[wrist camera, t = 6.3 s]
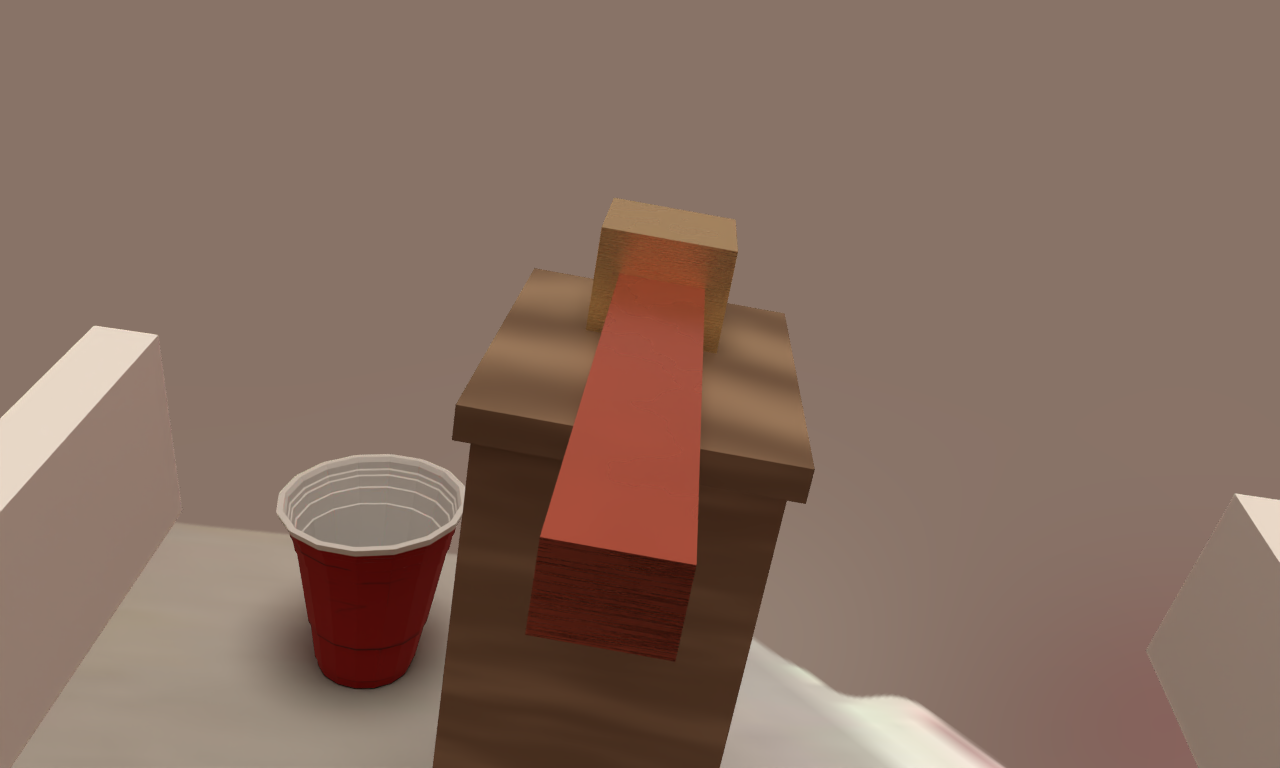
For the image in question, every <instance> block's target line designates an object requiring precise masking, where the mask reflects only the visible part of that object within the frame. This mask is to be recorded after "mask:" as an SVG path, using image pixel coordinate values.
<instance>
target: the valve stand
mask: <svg viewBox="0 0 1280 768" xmlns="http://www.w3.org/2000/svg"><path fill="white" fill-rule="evenodd" d="M593 280H594V279H590V278H585V277H580V276H574V275H569V274H563V273H558V272H551V271H547V270H541V269H536V268H535V269H534V270H533V272H532V274H531V276H530V277H529V279H528V281H527V282H526V284H525V286H524V288H523V289H522V291H521V293H520V294H519V296H518V298H517V300H516V301H515V303H514V305H513V307H512V308H511V310H510V312H509V314H508V315H507V317H506V319H505V320H504V322H503V324H502V326H501V327H500V329H499V331H498V333H497V334H496V336H495V338H494V339H493V341H492V343H491V345H490V346H489V348H488V350H487V352H486V353H485V355H484V357H483V358H482V360H481V362H480V364H479V366H478V367H477V369H476V371H475V372H474V374H473V376H472V378H471V380H470V381H469V383H468V384H467V386H466V388H465V390H464V391H463V393H462V395H461V397H460V398H459V400H458V402H457V404H456V408H455V417H454V426H453V436H452V440H454V441H460V442H466V443H471V445H470V453H469V462H468V470H467V480H466V487H465V496H464V504H463V513H462V522H461V530H460V539H459V548H458V556H457V564H456V573H455V581H454V590H453V598H452V607H451V616H450V624H449V633H448V641H447V650H446V658H445V667H444V675H443V684H442V692H441V701H440V709H439V718H438V727H437V735H436V744H435V752H434V761H433V768H720V764H721V760H722V756H723V752H724V748H725V744H726V740H727V736H728V732H729V728H730V724H731V720H732V716H733V713H734V709H735V705H736V701H737V697H738V693H739V689H740V685H741V681H742V677H743V673H744V669H745V665H746V661H747V657H748V653H749V649H750V645H751V641H752V637H753V633H754V629H755V625H756V621H757V617H758V613H759V609H760V605H761V601H762V597H763V593H764V589H765V585H766V581H767V577H768V573H769V569H770V565H771V561H772V557H773V553H774V549H775V545H776V541H777V537H778V534H779V530H780V526H781V521H782V517H783V513H784V510H785V506H786V502H787V501H792V502H798V503H804V504H806V501H807V497H808V493H809V489H810V486H811V482H812V478H813V474H814V470H815V469H814V463H813V459H812V453H811V448H810V443H809V437H808V432H807V427H806V422H805V417H804V412H803V406H802V401H801V396H800V391H799V386H798V381H797V376H796V370H795V365H794V360H793V355H792V350H791V344H790V339H789V334H788V329H787V324H786V319H785V314H784V313H778V312H773V311H768V310H762V309H756V308H751V307H745V306H740V305H735V304H729V303H727V306H726V311H725V316H724V320H723V325H722V330H721V335H720V339H719V344H718V349H717V354H716V353H711V352H705V351H703V372H702V404H701V437H700V469H699V502H698V535H697V565H696V570H695V575H694V579H693V584H692V588H691V593H690V597H689V602H688V606H687V611H686V616H685V620H684V625H683V629H682V634H681V638H680V643H679V647H678V652H677V656H676V661H675V662H673V661H668V660H662V659H657V658H651V657H646V656H640V655H635V654H629V653H624V652H618V651H612V650H607V649H601V648H596V647H590V646H585V645H579V644H574V643H568V642H562V641H557V640H551V639H546V638H540V637H535V636H529V635H525V632H526V626H527V619H528V612H529V606H530V599H531V592H532V586H533V579H534V573H535V566H536V559H537V553H538V546H539V539H540V535H541V532H542V528H543V525H544V522H545V518H546V515H547V512H548V508H549V505H550V502H551V498H552V495H553V492H554V488H555V485H556V482H557V479H558V475H559V472H560V469H561V465H562V462H563V459H564V455H565V452H566V449H567V445H568V442H569V439H570V435H571V432H572V429H573V425H574V422H575V419H576V416H577V412H578V409H579V406H580V402H581V399H582V396H583V392H584V389H585V386H586V382H587V379H588V376H589V372H590V369H591V366H592V363H593V359H594V356H595V353H596V349H597V346H598V343H599V339H600V336H601V333H600V332H595V331H589V330H586V325H587V319H588V312H589V306H590V299H591V293H592V287H593Z"/></svg>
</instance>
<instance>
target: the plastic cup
mask: <svg viewBox="0 0 1280 768" xmlns="http://www.w3.org/2000/svg"><path fill="white" fill-rule="evenodd" d="M464 496H465V486H464V485H463V484H462V483H461V482H460V481H459V480H458V479H457V478H456V477H455V476H454V475H453V474H452V473H451V472H450V471H449V470H447V469H444V468H442V467H440V466H437V465H435V464H433V463H430V462H428V461H426V460H423V459H417V458H411V457H405V456H399V455H393V454H378V455H354V456H350V457H345V458H341V459H336V460H331V461H327V462H323V463H321V464H319V465H316V466H314V467H312V468H310V469H308V470H306V471H304V472H302V473H300V474H298V475H296V476H295V477H294V478H293V479H292V480H291V481H290V482H289V483H288V484H287V485H286V486H285V487H284V488H283V489H282V490H281V491H280V492H279V497H278V504H277V511H276V513H277V515H278V517H279V519H280V520H281V522H282V523H283V525H284V526H285V528H286V529H287V530H288V532H289V533H290V537H291V538H292V540H293V544H294V548H295V551H296V553H297V555H298V561H299V567H300V573H301V579H302V585H303V591H304V597H305V602H306V608H307V614H308V620H309V623H310V624H311V629H312V636H313V644H314V651H315V657H316V659H317V660H318V665H319V667H320V669H321V670H322V672H323V673H324V675H325V676H326V677H328V678H329V679H331V680H333V681H334V682H336V683H337V684H340V685H344V686H348V687H352V688H376V687H379V686H383V685H386V684H389V683H392V682H394V681H395V680H397V679H398V678H400V677H401V676H402V675H404V674H405V672H406V670H407V669H408V667H409V665H410V664H411V661H412V659H413V658H414V656H415V653H416V650H417V646H418V643H419V639H420V636H421V633H422V629H423V626H424V625H425V623H426V621H427V618H428V615H429V611H430V608H431V604H432V601H433V597H434V594H435V591H436V587H437V584H438V580H439V577H440V573H441V570H442V567H443V563H444V560H445V556H446V553H447V551H448V550H449V547H450V543H451V539H452V536H453V534H454V533H455V529H456V526H457V524H458V523H459V521H460V519H461V518H462V513H463V504H464Z"/></svg>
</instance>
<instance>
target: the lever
mask: <svg viewBox="0 0 1280 768" xmlns="http://www.w3.org/2000/svg"><path fill="white" fill-rule="evenodd" d="M737 253H738V247H737V234H736V221H735V220H734V219H729V218H723V217H718V216H712V215H706V214H701V213H696V212H690V211H684V210H679V209H673V208H668V207H662V206H657V205H651V204H646V203H640V202H635V201H629V200H624V199H618V198H614V199H613V202H612V204H611V206H610V209H609V211H608V214H607V216H606V218H605V221H604V223H603V225H602V229H601V236H600V243H599V249H598V255H597V261H596V268H595V274H594V280H593V287H592V293H591V299H590V306H589V312H588V319H587V325H586V330H589V331H595V332H600V333H601V336H600V339H599V343H598V346H597V349H596V353H595V356H594V359H593V363H592V366H591V369H590V372H589V376H588V379H587V382H586V386H585V389H584V392H583V396H582V399H581V402H580V406H579V409H578V412H577V416H576V419H575V422H574V425H573V429H572V432H571V435H570V439H569V442H568V445H567V449H566V452H565V455H564V459H563V462H562V465H561V469H560V472H559V475H558V479H557V482H556V485H555V488H554V492H553V495H552V498H551V502H550V505H549V508H548V512H547V515H546V518H545V522H544V525H543V528H542V532H541V535H540V539H539V546H538V553H537V559H536V566H535V573H534V579H533V586H532V592H531V599H530V606H529V612H528V619H527V626H526V632H525V635H529V636H535V637H540V638H546V639H551V640H557V641H562V642H568V643H574V644H579V645H585V646H590V647H596V648H601V649H607V650H612V651H618V652H624V653H629V654H635V655H640V656H646V657H651V658H657V659H662V660H668V661H673V662H675V661H676V656H677V652H678V647H679V643H680V638H681V634H682V629H683V625H684V620H685V616H686V611H687V606H688V602H689V597H690V593H691V588H692V584H693V579H694V575H695V570H696V565H697V535H698V502H699V469H700V437H701V404H702V372H703V351H705V352H711V353H716V354H717V349H718V344H719V339H720V335H721V330H722V325H723V320H724V316H725V311H726V306H727V300H728V296H729V291H730V287H731V282H732V277H733V273H734V268H735V263H736V258H737Z"/></svg>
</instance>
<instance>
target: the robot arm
mask: <svg viewBox="0 0 1280 768" xmlns="http://www.w3.org/2000/svg"><path fill="white" fill-rule="evenodd" d="M181 512H182V505H181V498H180V490H179V483H178V476H177V468H176V461H175V454H174V446H173V439H172V432H171V425H170V417H169V411H168V403H167V395H166V388H165V381H164V373H163V366H162V359H161V352H160V344H159V337H158V335H155V334H148V333H141V332H134V331H128V330H121V329H114V328H107V327H100V326H93V327H92V328H91V329H90V331H88V332H87V333H86V334H85V335H84V336H83V337H82V338H81V339H80V340H79V341H78V342H77V343H76V344H75V345H74V346H73V347H72V348H71V349H70V350H69V351H68V352H67V353H66V354H65V355H64V356H63V357H62V358H61V359H60V360H59V361H58V362H57V363H56V364H55V365H54V366H53V367H52V368H51V369H50V370H49V371H48V372H47V373H46V374H45V375H44V376H43V377H42V378H41V379H40V380H39V381H38V382H37V383H36V384H35V385H34V386H33V387H32V388H31V389H30V390H29V391H28V392H27V393H26V394H25V395H24V396H23V397H22V398H21V399H20V400H19V401H18V402H17V403H16V404H15V405H14V406H13V407H12V408H10V410H9V411H7V412H6V413H5V414H4V415H3V416H2V417H1V418H0V768H11V766H12V765H13V763H14V762H15V760H16V759H17V758H18V756H19V755H20V753H21V752H22V750H23V749H24V747H25V746H26V744H27V743H28V741H29V740H30V738H31V737H32V735H33V734H34V732H35V731H36V729H37V728H38V726H39V725H40V723H41V722H42V720H43V719H44V717H45V716H46V714H47V713H48V711H49V710H50V708H51V707H52V705H53V704H54V702H55V701H56V699H57V698H58V696H59V695H60V693H61V692H62V690H63V689H64V687H65V686H66V684H67V683H68V681H69V680H70V678H71V677H72V675H73V674H74V672H75V671H76V669H77V668H78V666H79V665H80V663H81V662H82V660H83V659H84V657H85V656H86V654H87V653H88V651H89V650H90V648H91V647H92V645H93V644H94V642H95V641H96V639H97V638H98V636H99V635H100V633H101V632H102V631H103V629H104V628H105V626H106V625H107V623H108V622H109V620H110V619H111V617H112V616H113V614H114V613H115V611H116V610H117V608H118V607H119V605H120V604H121V602H122V601H123V599H124V598H125V596H126V595H127V593H128V592H129V590H130V589H131V587H132V586H133V584H134V583H135V581H136V580H137V578H138V577H139V575H140V574H141V572H142V571H143V569H144V568H145V566H146V565H147V563H148V562H149V560H150V559H151V557H152V556H153V554H154V553H155V551H156V550H157V548H158V547H159V545H160V544H161V542H162V541H163V539H164V538H165V536H166V535H167V533H168V532H169V530H170V529H171V527H172V526H173V524H174V523H175V521H176V520H177V518H178V517H179V515H180V514H181ZM1146 652H1147V654H1148V656H1149V659H1150V661H1151V663H1152V665H1153V668H1154V670H1155V672H1156V674H1157V677H1158V679H1159V681H1160V683H1161V685H1162V688H1163V690H1164V692H1165V694H1166V696H1167V699H1168V701H1169V703H1170V705H1171V708H1172V710H1173V712H1174V714H1175V717H1176V719H1177V721H1178V723H1179V725H1180V728H1181V730H1182V732H1183V735H1184V737H1185V739H1186V741H1187V743H1188V746H1189V748H1190V750H1191V752H1192V755H1193V757H1194V759H1195V761H1196V763H1197V766H1198V768H1280V500H1275V499H1268V498H1261V497H1255V496H1248V495H1241V494H1234V496H1233V498H1232V500H1231V501H1230V503H1229V505H1228V507H1227V508H1226V510H1225V512H1224V514H1223V515H1222V517H1221V519H1220V521H1219V522H1218V524H1217V526H1216V528H1215V530H1214V532H1213V533H1212V535H1211V537H1210V538H1209V540H1208V542H1207V544H1206V545H1205V547H1204V549H1203V551H1202V552H1201V554H1200V556H1199V558H1198V559H1197V561H1196V563H1195V565H1194V567H1193V568H1192V570H1191V572H1190V574H1189V575H1188V577H1187V579H1186V581H1185V582H1184V584H1183V586H1182V588H1181V590H1180V591H1179V593H1178V595H1177V596H1176V598H1175V600H1174V602H1173V603H1172V605H1171V607H1170V609H1169V611H1168V613H1167V614H1166V616H1165V618H1164V619H1163V621H1162V623H1161V625H1160V626H1159V628H1158V630H1157V632H1156V633H1155V635H1154V637H1153V639H1152V641H1151V642H1150V644H1149V646H1148V648H1147V649H1146Z"/></svg>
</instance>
